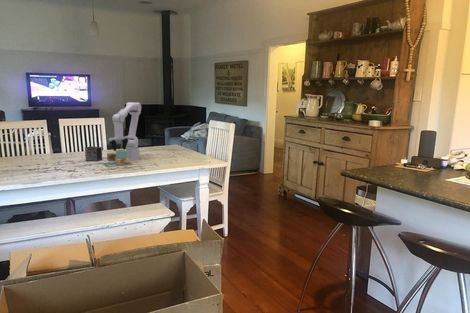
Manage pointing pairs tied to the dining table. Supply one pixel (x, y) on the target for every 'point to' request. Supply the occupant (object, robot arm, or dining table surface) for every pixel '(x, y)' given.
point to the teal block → (121, 154)
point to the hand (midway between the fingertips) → (119, 150)
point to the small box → (93, 153)
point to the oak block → (121, 161)
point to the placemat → (115, 164)
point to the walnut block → (111, 157)
